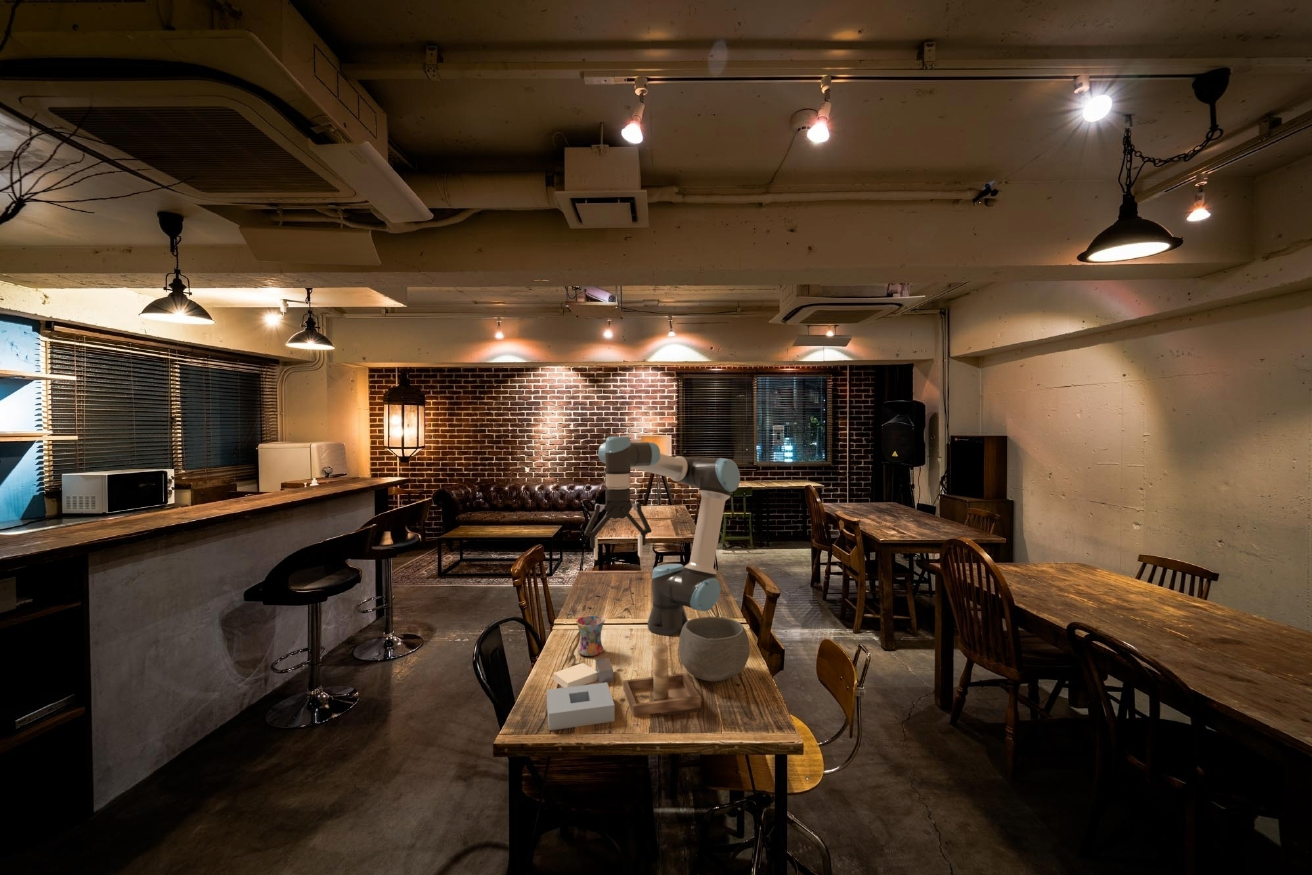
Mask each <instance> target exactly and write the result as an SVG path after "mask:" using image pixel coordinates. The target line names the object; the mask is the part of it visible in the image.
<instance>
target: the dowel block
mask: <svg viewBox="0 0 1312 875" xmlns="http://www.w3.org/2000/svg"><path fill="white" fill-rule="evenodd" d="M615 706H616V705H615V701H614V700H613V697H612V694H611V690H610V686H609V684H608V683H607V682H606V683H599V682H598V683H591V684H589V683H588V684H585V685H581V686H573V687H565V688H563V687H559V688H549V689H548V688H547V689H546V711H547V723H548V724H547V725H548V731H555V730H563V729H569V728H570V729H571V728H577V727H583V726H589V725H597V724H604V723H605V724H606V723H612V722H615V716H616V715H615Z"/></svg>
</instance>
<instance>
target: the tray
mask: <svg viewBox="0 0 1312 875" xmlns="http://www.w3.org/2000/svg"><path fill="white" fill-rule="evenodd" d="M622 684H623V685H622V690H623V692H624V695H625V698H626V701H627V704H628V705H629V708H630V711H631V714H632V716H633V717H637V716H645V715H651V714H659V713H660V715H661V716H662V717H664V716H671V715H679V714H684V713H685V714H686V713H687V714H688V713H692V712H694V713H695V712H699V711H702V697H701V695H700V693H699V692H698V691H697V689H696V688H695V685H694V684H693V683H692V681H691V680H690V679H689V677H688V675H687V674H686V673H685V672H681V673H672V674H668V700H661V701H655V700H654V677H653V676H649V677H641V678H640V677H639V678H632V679H624V680H622ZM643 689H648V690H649V692H650V694H651V696H652V698H653V701H648V702H647V701H646V702H640V703H639V702H638V703H637V702H636V700H635V697H634V695H633V692H632V691H637V690H643Z"/></svg>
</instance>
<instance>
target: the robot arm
mask: <svg viewBox="0 0 1312 875" xmlns="http://www.w3.org/2000/svg"><path fill="white" fill-rule="evenodd" d="M597 454H598V459H599V460H600V461H601V463H602V464H605V487H606V489H605V503H604V504H599V503H595V505H594V511H593V513H592V515H591V517H590V520H589V521H588V524H587V526H586V528H585V530H584V535H585V536H586V537H589V540H590V543H589V544H590V549H593V557H594V558H593V559H594V560H595V561H598V558H599V557H598V556H599V555H598V554H599V552H598V549H599V548H598V547H599V546H598V544H599V543H598V537H597V535H598V534H599V532H600V531H601V530H602V529H603V528H604V526H605V525H606V524H607V523H608V521H610V519H613V520H616V519H625V518H627V520H629V521H630V523H631V524H632V525H633V526H634V527H635V528H636V529H637V530H638V532H639V534H638V533H637V556H638V557H639V558H643V546H646V543H647V542H646V535H648V534H650V533H652V528H651V526H650V524H649V522H648V520H647V519H646V516H645V515H644V513H643V510H642V504H641V503H640V501H639V502H638V501H636V502H635V503H632V502H631V488H630V487H631V469H634V470H638V471H641V472H642V471H643V472H646V473H651V474H655V475H659V476H663V477H667V478H668V477H669V479H670V480H672V481H673V482H678V483H681V484H683V485H686V486H690V487H693V488H697V489H698V493H699V494H700V495H701V500H700V504H699V510H698V515H697V520H696V521H697V522H696V527H695V532H694V535H693V536H694V537H693V541H692V542H693V543H692V548H691V554H690V559H689V561H688V563H687V564H686V565H683V564H681V563H668V564H667V563H666V564H662V565H658V566H655V567H653V569H652V575H651V576H652V577H651V584H652V585H651V586H652V587H651V590H652V591H651V592H652V595H651V596H652V598H651V599H652V605H651V606H652V608H651V610H650V612H649V617H648V620H647V630H648V631H650V632H651V633H653V634H656V635H664V636H674V635H675V636H676V635H680V634H681V631H682V628H683V626H684V624H685V623H686V622H687V621H688V620H689V618H688V616H687V613H686V609H685V607H687V608H691V609H692V610H697V611H700V612H707V611H710V610H712V609H713V607H714V606H715V605H716V604H717V603H718V601H719V599H720V596H721V591H722V589H721V588H722V586H721V584H720V581H719V580H718V579H717V571H716V569H715V568H714V565H715V560H716V554H717V548H718V542H719V538H720V531H721V528H722V526H721V525H722V520H723V515H724V510H725V504H726V501H727V500H729V499H730V498H731V495H732V493H733V492H735V491H736V490H737V489H738V487H739V485H740V483H741V473H740V470H739V468H738V465H737V464H736V462H735V461H733V460H732V459H730V458H729V459H728V458H723V457H701V456H699V457H698V456H697V457H694V456H693V457H688V456H686V457H685V456H682V455H681V456H680V455H677V456H675V457H674V456H672V455H666V454H664V453H661V449H660V447H659V446H658V445H657V444H656V443H655V442H651V441H650V442H649V441H646V442H645V441H643V442H635V441H634V442H633V441H631V438H630V437H629V436H608V437H607V438H606V440H605V442H602V443H601V444H600V446H599V448H598V450H597ZM632 509H633V510H635V511H636V513H637V515H638V517H639V519H640V521H641V522H642V526H643V527H644V529H643V527H642V526H641V525H640V524H639V523H638V522H637V521H636V519H635V518H634V517H633V516H632V515H631V513H630V511H631V510H632ZM603 510H604V511H605V512H606V513H605V515H604V516H603V518H602V519H601V520H600V521H599V522H598V523H597V525H596V526H595V527H594V525H595V523H596V521H597V519H598V518H599V515H600V513H601V512H602V511H603ZM593 527H594V528H593Z"/></svg>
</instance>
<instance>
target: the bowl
mask: <svg viewBox="0 0 1312 875" xmlns="http://www.w3.org/2000/svg"><path fill="white" fill-rule="evenodd" d="M750 652H751V645H750V640H749V636H748V633H747V631H746V629H745V626H743V624H741V622H740V621H737V620H735V619H732V618H728V617H722V616H703V617H693V618H691V619H688V621H687V622H686V623H685V624H684V626H683V628H682V631H681V634H679V641H678V655H679V660H680V663H681V664H682V665H683V667H684V668H685V670H686V671H687V672H688V673H689V674H690V675H691V676H694V677H695V678H697V679H699V680H702V681H706V682H720V681H725V680H727V679H731V678H733V677H736V676H737V675H738V674H740V673H741V672H742V671H743V670H744V669H745V668H746V665H747V662H748V660H749V658H750V657H749V656H750Z"/></svg>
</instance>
